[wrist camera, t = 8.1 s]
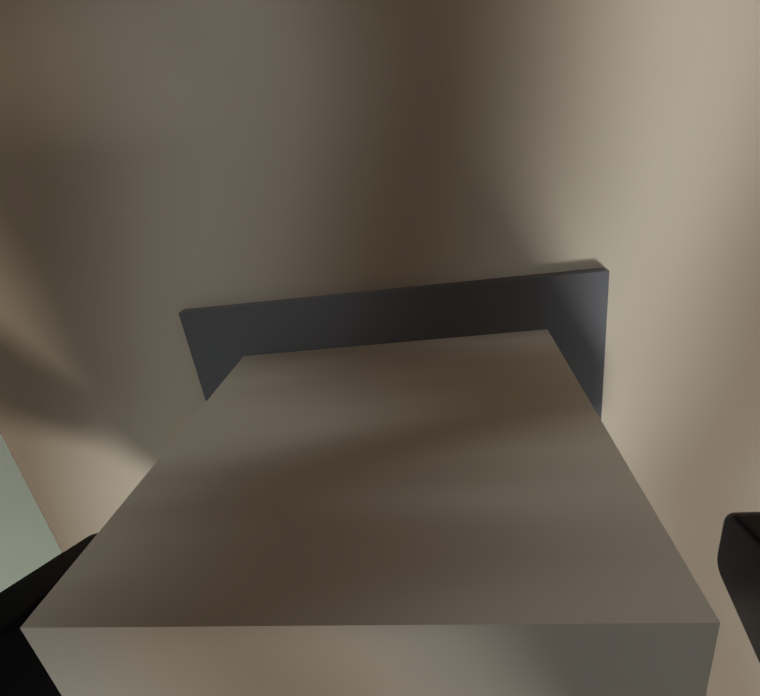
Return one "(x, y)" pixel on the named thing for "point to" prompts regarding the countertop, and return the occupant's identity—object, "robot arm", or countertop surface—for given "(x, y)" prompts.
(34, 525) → the countertop surface
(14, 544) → the countertop surface
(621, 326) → the blueprint board
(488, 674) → the maple block
